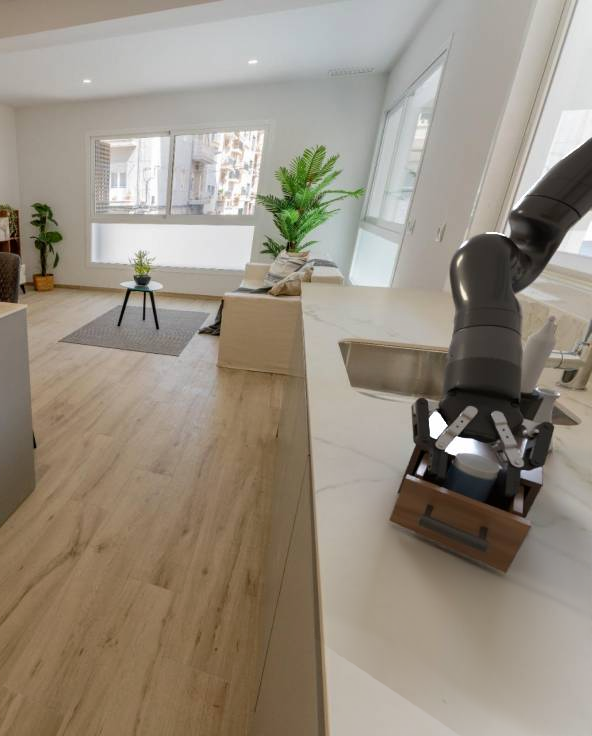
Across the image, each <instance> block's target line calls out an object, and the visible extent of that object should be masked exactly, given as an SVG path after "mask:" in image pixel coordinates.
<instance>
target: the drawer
mask: <svg viewBox="0 0 592 736" xmlns="http://www.w3.org/2000/svg"><path fill="white" fill-rule="evenodd" d="M429 454H430V453H429V452H426V453H425V455H424V457H423V459H422V461H421V463H420V465H419V467H418V469H417V472H416V474H415V476H414V477H413V476H411V475H408V474H407V476H406V478H405V480H404V483H403V486H402V488H401V491H400V493H398V496H397V499H396V500H395V501H396V502H395V504H394V507H393V510H392V512H391V514H390V518H389V522H391V523H393V524H396V525H398V526H400V527H402V528H404V529H407V530H409V531H410V532H413V533H416V534H418V535H419V536H423V537H424V538H426V539H428V540H431V541H434V542H436V543H438V544H440V545H443V546H444V547H446V548H449V549H450V550H451V549H452V550H454V551H455V552H458V553H460V554H462V555H464V556H467V557H468V558H472V559H474V560H475V561H477V562H480V563H483V564H484V565H487V566H489V567H492V568H493V569H496V570H498V571H500V572H502V573H505V574H507V572H508V570H509V569H510V567H511V565H512V563H513V562H514V559H515V558H516V556H517V554H518V552H519V550H520V549H521V547H522V545H523V543H524V541H525V540H526V538H527V536H528V534H529V532H530V531H531V529H532V524H533V522H532V520H529V519H527V518H525V519H524V518H522V517H521V516H522V514H523V498H524V485H523V484H520V491H519V493H518V494H517V495H515V496H513V497H512V498H511V499H507V500H503V499H499V498H497V496H496V495H497V482H498V476H497V479H496V481H495V483H494V485H493V487H492V490H491V492H490V494H489V496H488V498H487V500H486V502H485V503H482V502H479V501H477V500H474V499H472V498H469V497H466V496H464V495H461V494H458V493H456V492H453V491H450V490H448V489H445V488H442V487H441V486H442V483H443V482H441V483H438V482H435V481H433V480H432V477H433V476H429V474H428V472H427V471H428V462H429ZM451 462H452V460H450V459H447V468H446V474H447V472H448V469H449V467H450V465H451Z"/></svg>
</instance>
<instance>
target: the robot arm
mask: <svg viewBox="0 0 592 736" xmlns="http://www.w3.org/2000/svg"><path fill="white" fill-rule="evenodd" d="M591 210H592V136H591V137H590V138H588V139H587V140H585V141H584V142H582V143H581V144H579V145H578V146H577V147H575V148H574V149H573V150H571V151H570V152H569V153H567V154H566V155H565V156H564V157H562V158H561V159H559V161H557V162H556V163H555V164H554V165H553V166H552V167H551V168H550V169H548V171H547V172H545V173H544V175H542V176H541V177H540V178H539V179H538V180H537V182H535V183H534V185H532V186H531V188H529V190H528V191H527V192H526V193H524V195H523V196H522V197H521V198H520V199H519V200H518V201H517V202H516V203H515V204H514V205H513V207H512V208H511V209H510V211H509V213H508V215H507V222H508V225H509V228H510V233H509V236H506V235H504V234H502V233H498V232H483V233H479V234H476V235H474V236H472V237H469V238H468V239H466V240H465V241H463V243H461V244H460V245H459V246H458V247H457V249H456V250H455V251H454V253H453V254H452V256H451V259H450V263H449V270H448V273H449V284H450V290H451V299H452V302H453V305H454V317H453V321H452V322H453V324H452V332H451V339H450V343H449V346H448V349H447V352H446V353H447V354H446V357H445V361H444V364H445V370H444V376H443V377H444V379H443V386H442V395H441V399H440V400H439V401H432V400H431V401H429V400H428V399H426V398H425V397H418V398H417V399H416V400H415V402H414V403H412V405H411V408H410V409H411V423H412V425H411V426H412V427H411V428H412V438H413V439H412V441H413V443H414V444H415V445H421V446H423V447H425V448H426V449H428V451H429V453H430V454H429V462H428V471H427V472H428V474H429V476H433V477H432V480H433V481H435V482H438V483H441V482H443V481H444V480H445V477H446V468H447V458H448V452H445V450H446V448H447V447H448V446H449V445H450V443H451V442H452V441H453V440H454V439H455V438H456V437H460V438H464V439H474V440H477V441H479V442H483V443H487V444H488V445H489V447H490V449H491V451H492V452H493V453H494V454H495V455H496V457H497V459H498V461H499V463H500V465H501V467H502V469H500V470H499V472H498V482H497V495H496V496H497V498H499V499H503V500H507V499H511V498H512V497H513V496H515V495H517V494H518V493H519V491H520V476H521V470H526V471H530V470H533V469H535V468H539V467H542V466H543V467H544V465H545V463H546V460H547V456H548V452H549V451H548V449H549V446H550V442H551V438H552V439H553V435H554V430H555V425H554V424H553V422H552V423H550V422H543V423H537V422H534V421H531V420H527V419H524V418H523V415H522V414H521V412H520V410H519V404H520V395H521V379H522V363H523V348H524V347H523V343H522V336H523V335H522V334H523V319H524V317H523V316H524V312H523V308H522V305H521V302H520V301H519V299H518V297H517V296H516V295H517V294H519V293H521V292H522V291H524V290H525V289H527V288H528V287H530V286H531V285H532V284H533V283H534V282H535V281H536V280H537V279H538V278H539V277H540V276H541V274H542V273H543V271H544V270H545V269H546V268H547V266H548V265H549V263H550V261H551V260H552V258H553V256H554V255H555V253H556V252H557V251H558V249H559V248H560V246H561V244H562V243H563V241H564V239H565V237H566V236H567V234H568V233H569V231H570V230H571V229H572V228H574V226H575V225H577V224H578V223H579V222H580V221H581V220H582V219H583V218H584V217H585V216H586V215H587V214H588V213H589V212H590V211H591ZM434 412H436V413H438V414H439V415H440V416H441V417H442V419H443V420H444V422H445V423H446V425H447V426H446V427H445V428H444V430H443V431H442V432H441V433H440V434H439V436H438V437H437V439H435V438H433V437H431V436H430V422H429V418H430V417H431V416H432V415H433V414H434ZM517 427H520V428H521V429H522V430H523V435H524V437H525V438H527V442H526V446H525V449H524V453H523V456H522V458H521V456H520V454H519V452H518V450H517V442H516V441H515V439H514V437H513V435H512V433H511V432H512V431H513V430H514V429H516V428H517Z"/></svg>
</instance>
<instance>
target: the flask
mask: <svg viewBox="0 0 592 736" xmlns="http://www.w3.org/2000/svg"><path fill="white" fill-rule="evenodd" d="M535 390H536V391H538V392H539V393H540V395H541V396H543V397H544V399H543V401H542V403H541V405H540V407H539V409H538V412H537V414H536V416H535V418H534V420H533V421H534V422H537V423H543V422H550V423H552V424H553V410H554V406H555V404H556V401H557V399H559V398H560V397H561V396H562V393H560V392H558V391H557V390H552V389H551V388H550V389H549V388H544V387H535ZM525 439H527V438H525ZM553 443H554V442H553V437H552V438H551V442H550V446H549V449H548V452H550V451H551V450H552V448H553V446H554V444H553Z"/></svg>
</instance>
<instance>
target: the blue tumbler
mask: <svg viewBox="0 0 592 736" xmlns="http://www.w3.org/2000/svg"><path fill="white" fill-rule="evenodd" d="M499 470H500V469H499V467H498V465H496V464H495V463H494V462H492V461H490V460H488V459H486V458H484V457H481V456H479V455H475V454H471V453H457V454H456V455H455V458H454V460H452V462H451V465H450V467H449V469H448V472H447V474H446V477H445V480H444V481H443V483H442V486H441V487H442V488H445V489H448V490H450V491H453V492H456V493H458V494H461V495H464V496H466V497H469V498H472V499H474V500H477V501H479V502H482V503H485V502H486V500H487V498H488V496H489V494H490V492H491V490H492V487H493V485H494V483H495V481H496V479H497V474H498V472H499Z"/></svg>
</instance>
